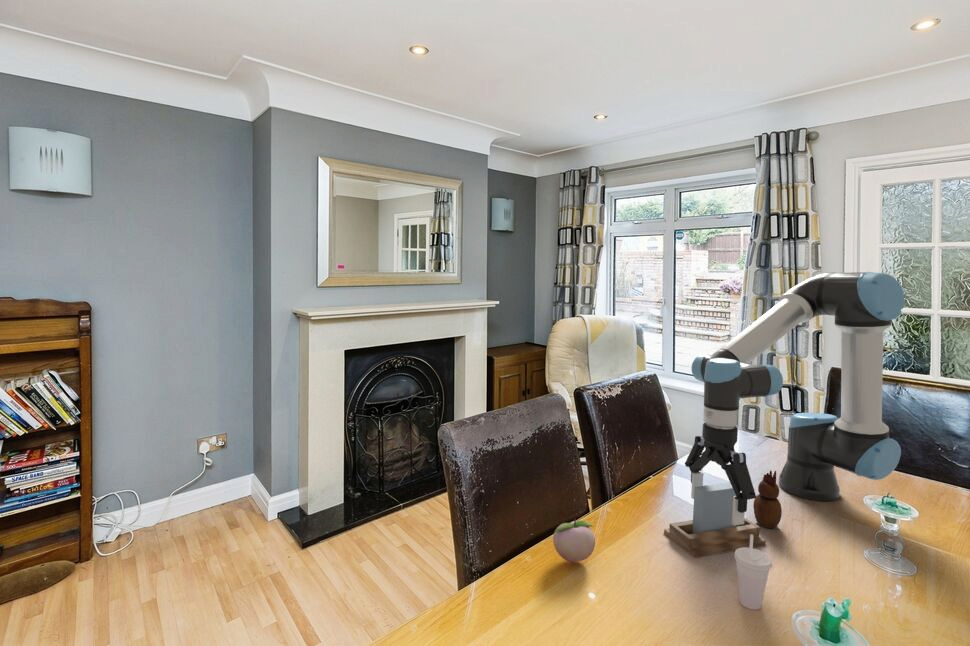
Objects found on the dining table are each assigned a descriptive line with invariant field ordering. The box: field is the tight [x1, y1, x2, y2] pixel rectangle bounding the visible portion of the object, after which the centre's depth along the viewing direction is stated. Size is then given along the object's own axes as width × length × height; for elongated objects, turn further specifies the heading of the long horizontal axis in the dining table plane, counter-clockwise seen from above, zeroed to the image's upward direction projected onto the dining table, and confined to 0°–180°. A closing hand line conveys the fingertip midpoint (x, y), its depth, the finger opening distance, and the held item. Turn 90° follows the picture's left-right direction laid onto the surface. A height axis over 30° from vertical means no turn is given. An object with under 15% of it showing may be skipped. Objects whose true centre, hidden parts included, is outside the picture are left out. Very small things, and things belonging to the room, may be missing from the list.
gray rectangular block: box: [692, 481, 736, 534], centre depth 117 cm, size 10×3×12 cm, turn 106°
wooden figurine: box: [752, 470, 783, 529], centre depth 124 cm, size 7×6×15 cm
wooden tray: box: [663, 517, 767, 558], centre depth 118 cm, size 20×11×3 cm, turn 106°
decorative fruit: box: [552, 518, 596, 563], centre depth 107 cm, size 9×8×10 cm
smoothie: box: [733, 534, 773, 610], centre depth 94 cm, size 6×6×14 cm
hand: (716, 510), depth 117 cm, fingers open, 13 cm apart
